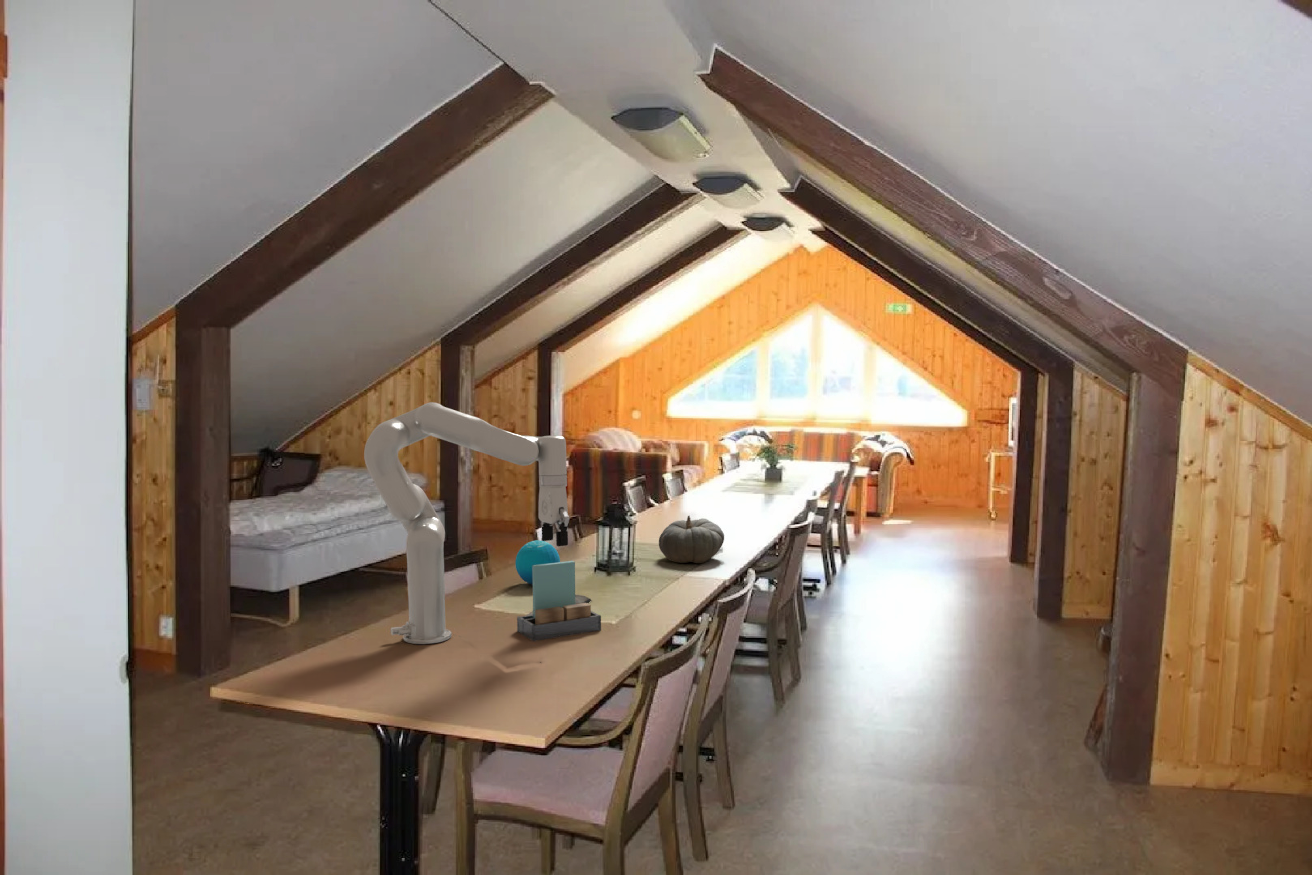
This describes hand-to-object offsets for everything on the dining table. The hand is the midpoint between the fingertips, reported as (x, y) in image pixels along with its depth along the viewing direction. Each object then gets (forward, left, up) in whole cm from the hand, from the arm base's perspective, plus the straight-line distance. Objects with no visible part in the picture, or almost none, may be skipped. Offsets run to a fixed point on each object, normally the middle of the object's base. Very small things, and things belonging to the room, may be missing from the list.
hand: (554, 543), depth 258 cm
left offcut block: (-4, -6, -24) cm, 25 cm away
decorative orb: (+19, +56, -25) cm, 64 cm away
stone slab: (+10, +20, -25) cm, 34 cm away
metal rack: (0, -3, -25) cm, 25 cm away
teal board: (0, 0, -24) cm, 24 cm away
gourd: (+85, +64, -25) cm, 109 cm away
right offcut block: (+4, -6, -24) cm, 25 cm away
